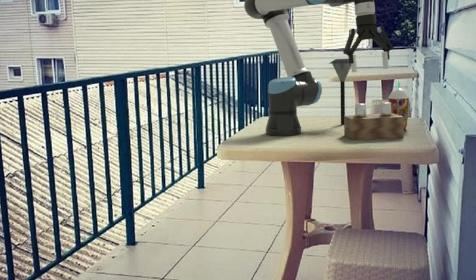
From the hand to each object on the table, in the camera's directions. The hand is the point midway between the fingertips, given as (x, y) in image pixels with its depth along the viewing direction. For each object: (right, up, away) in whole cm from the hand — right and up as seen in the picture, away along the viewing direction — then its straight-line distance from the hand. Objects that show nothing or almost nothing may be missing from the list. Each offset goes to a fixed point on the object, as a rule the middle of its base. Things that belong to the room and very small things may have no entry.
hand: (370, 70), depth 205 cm
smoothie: (+16, -23, +18) cm, 33 cm away
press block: (+2, -26, +3) cm, 26 cm away
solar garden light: (-3, -20, +40) cm, 44 cm away
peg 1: (-3, -21, +2) cm, 21 cm away
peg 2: (+7, -20, +3) cm, 22 cm away
